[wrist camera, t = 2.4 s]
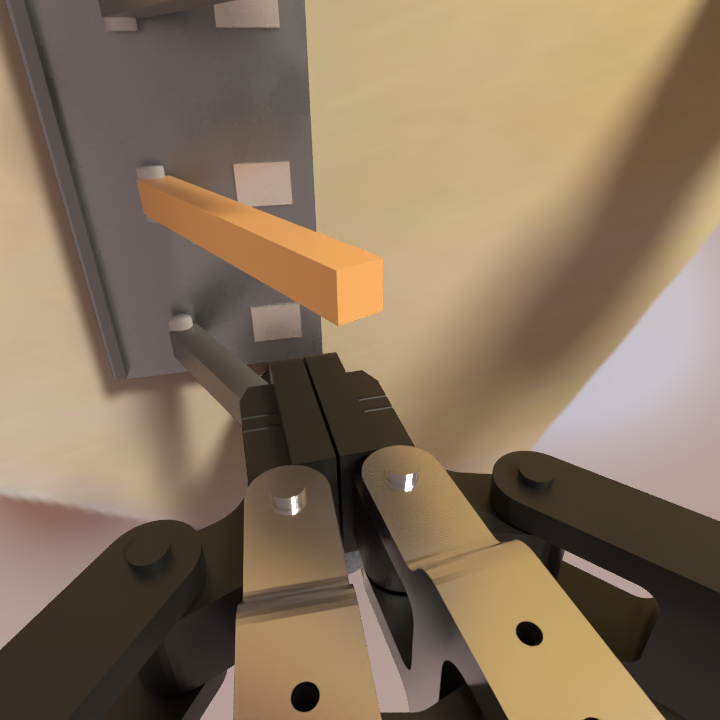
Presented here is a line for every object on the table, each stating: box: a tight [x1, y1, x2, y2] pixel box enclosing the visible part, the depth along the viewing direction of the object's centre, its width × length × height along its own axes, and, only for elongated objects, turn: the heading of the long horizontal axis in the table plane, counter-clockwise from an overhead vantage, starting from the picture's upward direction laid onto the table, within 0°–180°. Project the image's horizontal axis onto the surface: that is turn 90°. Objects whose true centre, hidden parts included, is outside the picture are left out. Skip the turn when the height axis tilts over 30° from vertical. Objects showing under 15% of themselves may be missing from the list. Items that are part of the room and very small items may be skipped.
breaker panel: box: [5, 0, 322, 381], centre depth 31 cm, size 14×24×4 cm, turn 1°
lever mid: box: [136, 165, 383, 326], centre depth 23 cm, size 2×3×19 cm, turn 2°
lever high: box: [168, 314, 268, 426], centre depth 27 cm, size 2×3×19 cm, turn 2°
